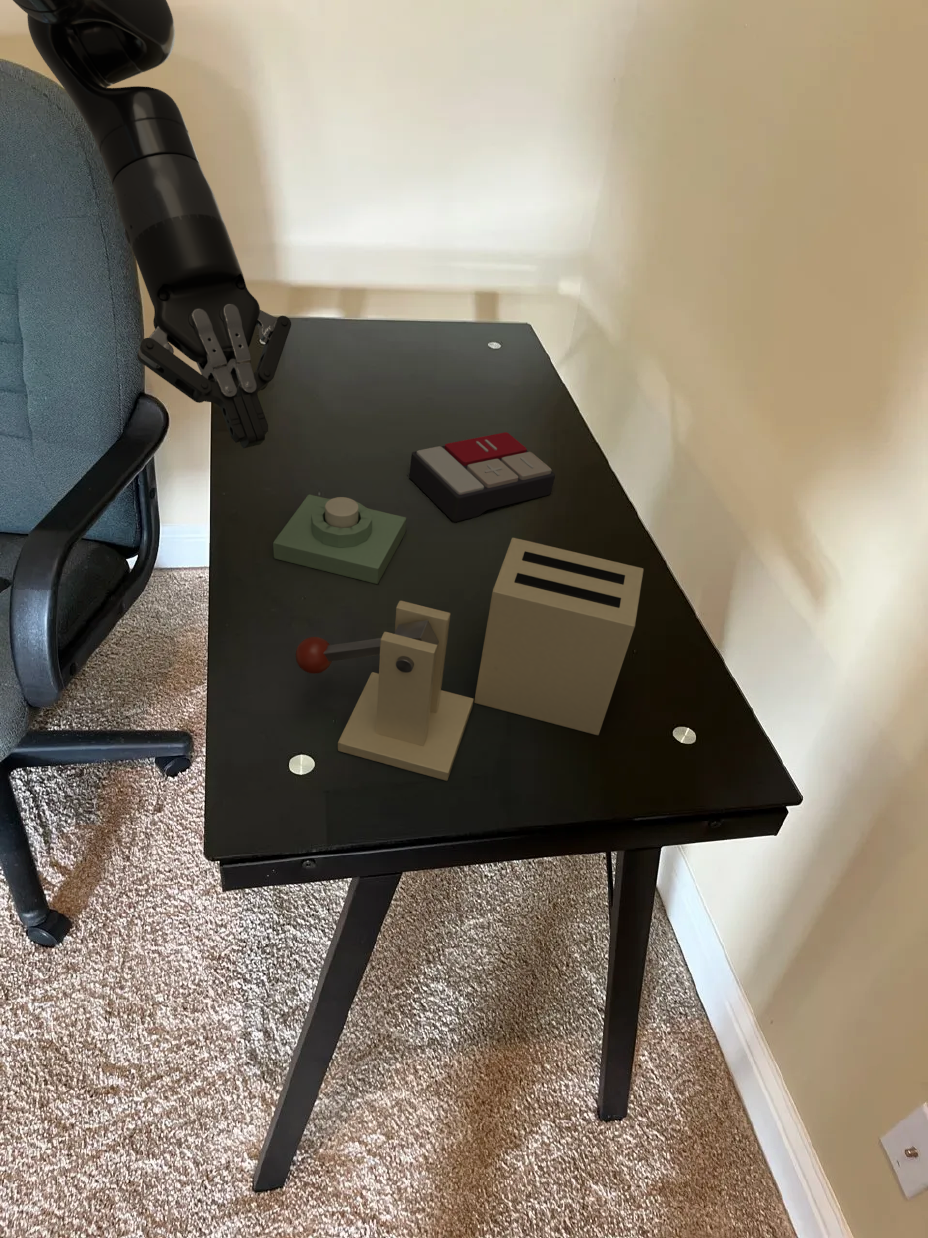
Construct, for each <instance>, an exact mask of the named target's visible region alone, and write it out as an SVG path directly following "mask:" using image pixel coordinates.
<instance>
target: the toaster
mask: <svg viewBox="0 0 928 1238" xmlns="http://www.w3.org/2000/svg"><path fill="white" fill-rule="evenodd" d="M643 575H644V567H643V568H642V567H639V566H635V565H630V564H626V563H621V562H619V561H613V560H608V559H605V558H600V557H597V556H593V555H589V554H584V553H580V552H575V551H571V550H567V549H564V548H560V547H559V548H558V547H554V546H550V545H546V544H542V543H538V542H534V541H530V540H526V539H521V538H517V537H511V540H510V542H509V545H508V548H507V551H506V553H505V556H504V559H503V562H502V564H501V567H500V570H499V573H498V575H497V578H496V581H495V582H494V583H495V584H494V586H493V588H492V592H491V598H490V604H489V611H488V616H487V622H486V628H485V633H484V640H483V646H482V652H481V657H480V664H479V670H478V677H477V682H476V688H475V694H474V700H473V704H476V705H477V704H478V705H480V706H485V707H489V708H492V709H496V710H499V711H504V712H508V713H512V714H515V715H520V716H522V717H526V718H530V719H534V720H538V721H542V722H546V723H550V724H554V725H557V726H561V727H565V728H569V729H571V730H576V731H579V732H584V733H587V734H591V735H595V736H599V735H600V733H601V730H602V727H603V723H604V720H605V718H606V715H607V712H608V708H609V706H610V703H611V700H612V697H613V694H614V690H615V687H616V686H617V685H616V684H617V681H618V679H619V675H620V672H621V669H622V666H623V663H624V660H625V658H626V654H627V651H628V649H629V645H630V642H631V639H632V636H633V633H634V631H635V628H636V621H637V615H638V609H639V602H640V596H641V589H642V583H643V582H642V581H643Z"/></svg>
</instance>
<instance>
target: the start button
mask: <svg viewBox="0 0 928 1238" xmlns="http://www.w3.org/2000/svg"><path fill="white" fill-rule="evenodd" d="M356 502H357V501H356V500H354V499H352V498H351V497H345V496H337V497H333V498H330V500H329V501H328V502H327V503H326V505H325V520H326V522H327V524H329V525H330V526H333V527H337V528H350V527H352V526H354V525H356V524H357V522H358V504H357V503H356Z"/></svg>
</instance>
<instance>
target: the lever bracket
mask: <svg viewBox="0 0 928 1238" xmlns="http://www.w3.org/2000/svg"><path fill="white" fill-rule="evenodd" d="M395 610H396V611H395V624H394V632H395V631H396V629H397V627H398V625H399V624H405V623H412V622H419V621H426V620H428V621H429V623H430V625H431V627H432V629H433V631H434V633H435V635H436V637H437V639H438V641H439V643H438V646H437V645H435V644H431V643H427V642H423V641H420V640H416V639H412V638H408V637H404V636H400V635H396V634H394V633H392V632H388V631H383V634H382V636H381V637H380V638H381V641H380V655H379V664H378V665H379V666H378V672H373V671H371V673H370V675H369V677H368V679H367V682H366V683H365V686H364V687H363V690H362V691H361V694H360V696H359V698H358V700H357V702H356V704H355V707H354V708H353V710H352V712H351V714H350V717H349V718H348V721H347V723H346V724H345V727H344V729H343V731H342V733H341V735H340V737H339V739H338V742H337V751H338V752H341V753H345V754H348V755H352V756H354V757H359V758H362V759H366V760H370V761H374V762H377V763H380V764H385V765H388V766H391V767H395V768H399V769H402V770H406V771H410V772H413V773H416V774H420V775H424V776H427V777H430V778H431V777H432V778H435V779H437V780H442V781H446V782H447V781H448V780H449V777H450V774H451V771H452V768H453V766H454V763H455V759H456V757H457V754H458V751H459V748H460V744H461V742H462V739H463V736H464V733H465V730H466V727H467V724H468V721H469V719H470V715H471V712H472V710H473V707H474V706H473V705H474V700H475V698H474V697H473V698H472V697H469V696H466V695H462V694H457V693H454V692H450V691H447V690H442V686H443V685H442V684H443V677H444V670H445V661H446V654H447V646H448V637H449V630H450V621H451V612H449V611H444V610H440V609H435V608H432V607H428V606H423V605H421V604H420V605H419V604H416V603H412V602H408V601H404V600H399V601H398V603H397V605H396V607H395Z"/></svg>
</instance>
